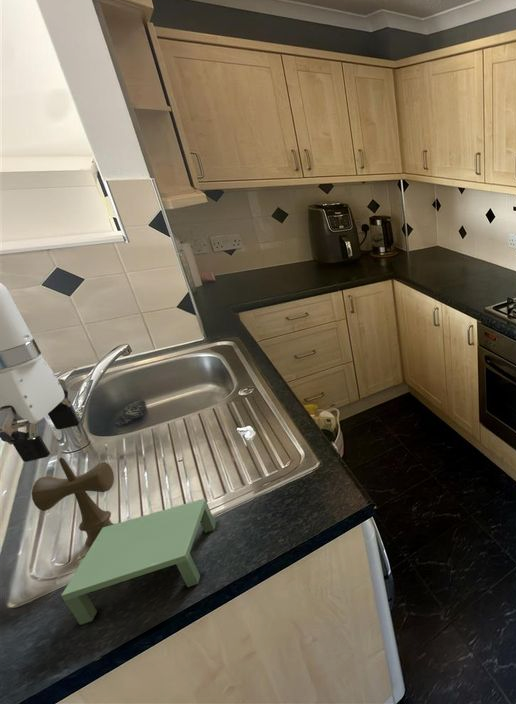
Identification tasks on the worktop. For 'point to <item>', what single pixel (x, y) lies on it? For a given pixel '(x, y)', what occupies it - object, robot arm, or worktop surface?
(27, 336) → the robot arm
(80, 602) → the spice shelf
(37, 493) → the kendama
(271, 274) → the worktop surface
